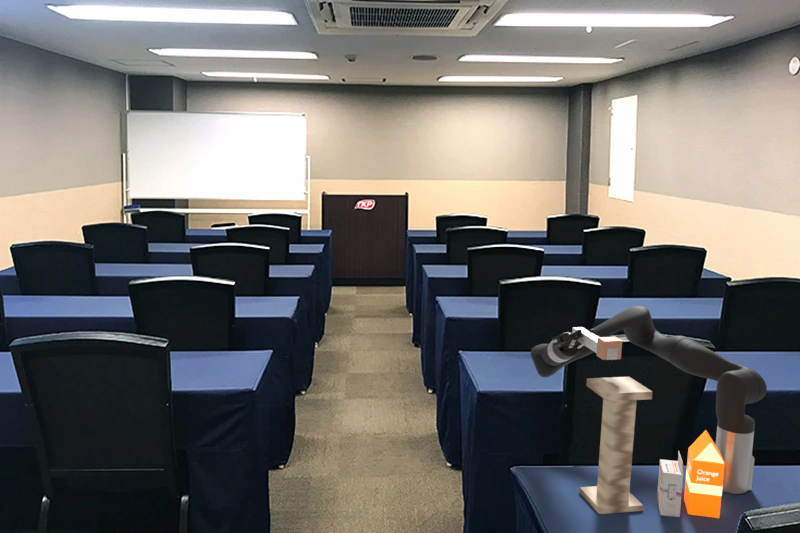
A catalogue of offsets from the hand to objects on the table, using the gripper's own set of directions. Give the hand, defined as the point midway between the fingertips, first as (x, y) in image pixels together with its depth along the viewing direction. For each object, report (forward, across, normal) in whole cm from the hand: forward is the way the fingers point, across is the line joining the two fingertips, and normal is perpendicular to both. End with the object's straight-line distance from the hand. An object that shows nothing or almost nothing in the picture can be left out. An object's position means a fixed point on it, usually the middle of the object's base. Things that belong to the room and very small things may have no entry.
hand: (586, 332), depth 213 cm
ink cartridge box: (+3, +13, +48) cm, 50 cm away
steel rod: (+3, 0, +5) cm, 6 cm away
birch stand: (-2, 0, +45) cm, 45 cm away
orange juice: (+4, +22, +49) cm, 54 cm away
